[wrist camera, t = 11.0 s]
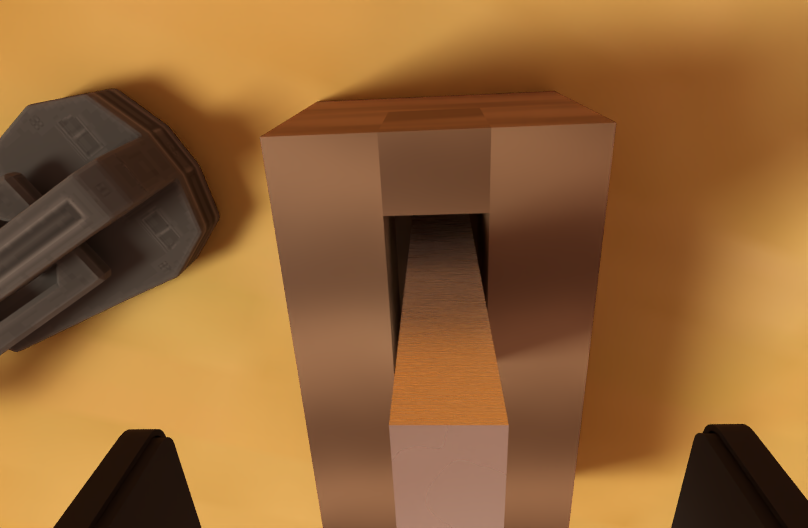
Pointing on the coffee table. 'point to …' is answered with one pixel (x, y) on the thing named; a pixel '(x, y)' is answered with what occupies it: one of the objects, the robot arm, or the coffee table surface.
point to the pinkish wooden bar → (446, 387)
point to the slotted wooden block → (387, 264)
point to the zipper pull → (92, 212)
